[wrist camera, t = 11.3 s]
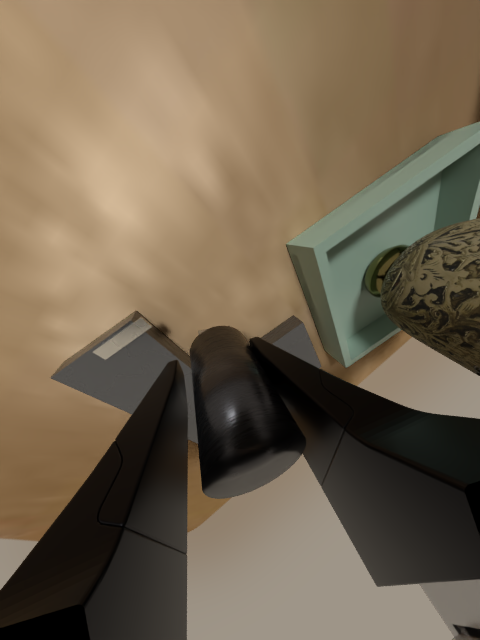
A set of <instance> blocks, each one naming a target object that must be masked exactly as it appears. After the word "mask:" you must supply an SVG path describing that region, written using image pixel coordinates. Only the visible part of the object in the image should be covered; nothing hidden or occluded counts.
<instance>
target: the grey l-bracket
mask: <svg viewBox="0 0 480 640" xmlns="http://www.w3.org/2000/svg"><path fill="white" fill-rule="evenodd" d="M261 339H263V340H265V341H267V342H269V343H271V344H273V345H275V346H277V347H279V348H280V349H282V350H284V351H286V352H288V353H290V354H292V355H294V356H296V357H298V358H300V359H302V360H304V361H306V362H308V363H310V364H312V365H314V366H316V367H317V368H320V367H322V366H321V364H320V362H319V359H318V357H317V355H316V352H315V350H314V347H313V345H312V343H311V340H310V338H309V336H308V333H307V331H306V328H305V326H304V324H303V322H302V321H300V320H299V319H298V318H296V317H295V316H294V315H293V316H292V317H290V318H289V319H287V320H286V321H285V322H283V323H282V324H280V325H279V326H277V327H276V328H275V329H273V330H272V331H270V332H269V333H267V334H266V335H265V336H263V337H262V338H261ZM173 360H178V361H179V363H180V366H181V368H182V370H183V373H184V378H185V387H186V395H187V405H188V440H191V441H193V442H195V443H197V444H198V437H197V426H196V415H195V405H194V394H193V383H192V372H191V361H190V357H189V356H188V355H187V354H186V353H185V352H184V351H182V350H181V349H180V348H179V347H178V346H177V345H175V344H174V343H173V342H172V341H171V340H170V339H168V338H167V337H166V336H165V335H164V334H163V333H161V332H160V331H159V330H158V329H157V328H156V327H154V326H153V325H152V324H151V323H150V322H149V321H148V320H146V319H145V318H144V317H143V316H142V315H141V314H139V313H138V312H137V311H135V312H133V313H132V314H131V315H129V316H128V317H126V318H125V319H124V320H122V321H121V322H119V323H118V324H117V325H115V326H114V327H112V328H111V329H110V330H108V331H107V332H105V333H104V334H103V335H101V336H100V337H98V338H97V339H96V340H94V341H93V342H91V343H90V344H89V345H87V346H86V347H84V348H83V349H82V350H80V351H79V352H77V353H76V354H74V355H73V356H72V357H70V358H69V359H67V360H66V361H65V362H63V364H62V365H61V366H60V367H59V368H58V369H57V371H56V372H55V373H54V374H53V375H52V376H51V378H52V379H54V380H56V381H58V382H61V383H63V384H65V385H67V386H69V387H72V388H74V389H76V390H78V391H81V392H83V393H85V394H87V395H90V396H92V397H94V398H96V399H99V400H101V401H103V402H105V403H108V404H110V405H112V406H114V407H117V408H119V409H121V410H123V411H126V412H128V413H130V414H133V413H134V411H135V410H136V408H137V407H138V405H139V404H140V402H141V401H142V399H143V398H144V397H145V395H146V394H147V392H148V391H149V389H150V388H151V386H152V385H153V383H154V382H155V380H156V379H157V378H158V376H159V375H160V373H161V372H162V370H163V369H164V367H165V366H166V364H167V363H168V362H170V361H173Z"/></svg>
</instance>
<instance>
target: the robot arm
mask: <svg viewBox="0 0 480 640" xmlns="http://www.w3.org/2000/svg"><path fill="white" fill-rule="evenodd" d="M250 348H251V349H252V351H253V352H254V354H255V356H256V357H257V359H258V361H259V362H260V364H261V366H262V367H263V369H264V371H265V372H266V374H267V375H268V377H269V379H270V380H271V382H272V384H273V385H274V387H275V389H276V390H277V392H278V394H279V395H280V397H281V398H282V400H283V402H284V403H285V405H286V407H287V408H288V410H289V412H290V413H291V415H292V417H293V418H294V420H295V421H296V423H297V425H298V426H299V428H300V430H301V431H302V433H303V435H304V436H305V438H306V447H305V449H304V451H303V455H304V457H305V459H306V460H307V462H308V464H309V466H310V468H311V469H312V471H313V473H314V474H315V476H316V478H317V480H318V482H319V484H320V485H321V486H322V489H323V491H324V493H325V494H326V496H327V498H328V500H329V502H330V504H331V505H332V507H333V509H334V511H335V512H336V514H337V516H338V518H339V520H340V521H341V523H342V525H343V527H344V529H345V530H346V532H347V534H348V536H349V538H350V539H351V541H352V543H353V545H354V546H355V548H356V550H357V552H358V554H359V555H360V557H361V559H362V560H363V562H364V564H365V566H366V568H367V570H368V571H369V573H370V575H371V577H372V579H373V580H374V582H375V584H376V585H377V586H378V587H380V586H393V585H407V584H420V586H421V587H422V589H423V590H424V592H425V593H426V595H427V596H428V598H429V599H430V601H431V603H432V604H433V605H434V607H435V609H436V610H437V612H438V613H439V615H440V616H441V618H442V619H443V621H444V622H445V624H446V625H447V626H448V628H449V630H450V631H451V633H452V634H453V636H454V638H453V639H452V640H480V419H476V418H467V417H458V416H449V415H440V414H432V413H426V412H422V411H418V410H414V409H411V408H408V407H405V406H403V405H400V404H398V403H395V402H393V401H390V400H388V399H386V398H383V397H381V396H378V395H376V394H374V393H371V392H369V391H367V390H364V389H362V388H360V387H357V386H355V385H353V384H351V383H348V382H346V381H344V380H342V379H340V378H337V377H335V376H333V375H331V374H329V373H327V372H325V371H323V370H321V369H319V368H317V367H316V366H314V365H312V364H310V363H308V362H306V361H304V360H302V359H300V358H298V357H296V356H294V355H292V354H290V353H288V352H286V351H284V350H282V349H280V348H279V347H277V346H275V345H273V344H271V343H269V342H267V341H265V340H263V339H261V338H259V337H254V338H251V339H250ZM187 473H188V405H187V395H186V387H185V378H184V373H183V370H182V368H181V366H180V363H179V361H178V360H173V361H170V362H168V363H167V364H166V366H165V367H164V369H163V370H162V372H161V373H160V375H159V376H158V378H157V379H156V380H155V382H154V383H153V385H152V386H151V388H150V389H149V391H148V392H147V394H146V395H145V397H144V398H143V399H142V401H141V402H140V404H139V405H138V407H137V408H136V410H135V411H134V413H133V414H132V415H131V417H130V418H129V420H128V421H127V423H126V424H125V426H124V427H123V429H122V430H121V431H120V433H119V434H118V436H117V437H116V439H115V441H114V442H113V443H112V444H111V446H110V447H109V449H108V450H107V452H106V453H105V455H104V456H103V457H102V459H101V460H100V462H99V463H98V464H97V466H96V467H95V469H94V470H93V471H92V473H91V474H90V476H89V477H88V478H87V480H86V481H85V482H84V484H83V485H82V486H81V488H80V489H79V490H78V491H77V493H76V494H75V495H74V497H73V498H72V499H71V501H70V502H69V503H68V505H67V506H66V507H65V508H64V510H63V511H62V512H61V514H60V515H59V516H58V517H57V519H56V520H55V521H54V523H53V524H52V525H51V526H50V528H49V529H48V530H47V532H46V533H45V534H44V535H43V537H42V538H41V539H40V541H39V542H38V543H37V545H36V546H35V547H34V548H33V550H32V551H31V552H30V553H29V555H28V556H27V557H26V559H25V560H24V561H23V562H22V564H21V565H20V566H19V568H18V569H17V570H16V572H15V573H14V574H13V575H12V576H11V578H10V579H9V580H8V581H7V583H6V584H5V585H4V586H3V588H2V589H1V590H0V640H187V555H186V553H187Z"/></svg>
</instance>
